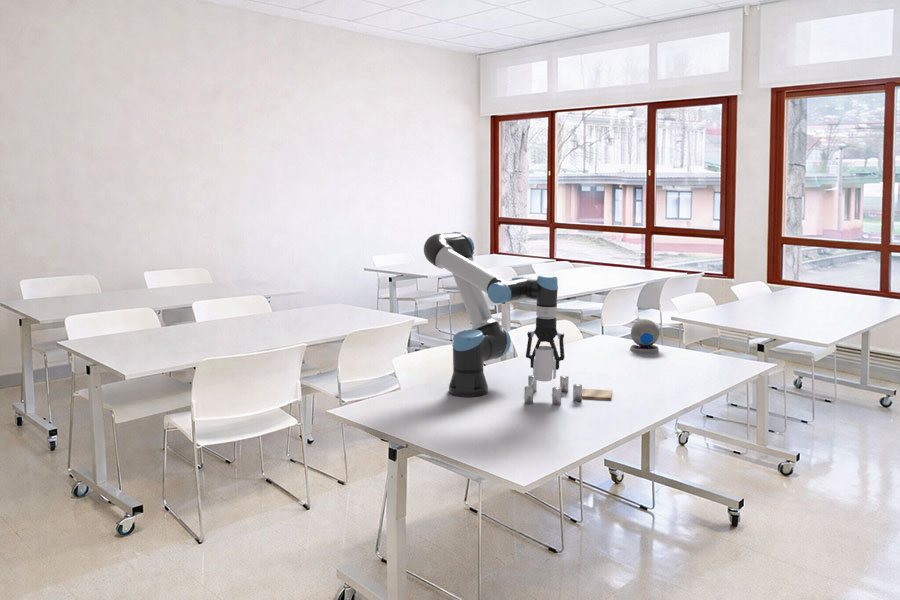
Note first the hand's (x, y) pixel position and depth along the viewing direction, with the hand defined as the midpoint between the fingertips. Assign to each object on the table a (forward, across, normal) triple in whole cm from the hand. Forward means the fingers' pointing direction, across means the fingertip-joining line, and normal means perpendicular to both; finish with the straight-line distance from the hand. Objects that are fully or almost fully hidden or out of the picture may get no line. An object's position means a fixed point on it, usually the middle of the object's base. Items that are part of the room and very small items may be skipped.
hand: (544, 377), depth 280 cm
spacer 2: (+8, -4, -9) cm, 13 cm away
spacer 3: (+8, +6, -8) cm, 13 cm away
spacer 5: (+7, +13, -2) cm, 15 cm away
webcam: (+8, +37, +87) cm, 94 cm away
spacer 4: (+8, +7, +9) cm, 13 cm away
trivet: (+7, +19, +6) cm, 21 cm away
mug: (+1, +1, 0) cm, 1 cm away
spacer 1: (+8, -5, +7) cm, 12 cm away
